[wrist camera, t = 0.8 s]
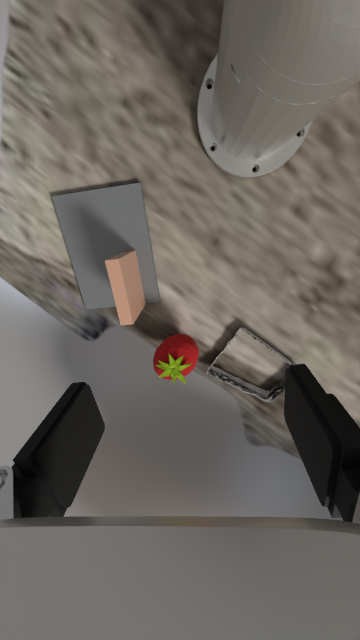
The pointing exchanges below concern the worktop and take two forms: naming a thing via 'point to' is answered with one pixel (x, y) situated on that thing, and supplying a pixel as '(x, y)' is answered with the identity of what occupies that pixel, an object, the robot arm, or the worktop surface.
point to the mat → (106, 239)
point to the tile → (126, 286)
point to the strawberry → (176, 357)
